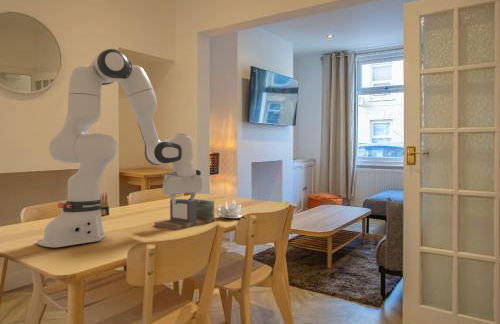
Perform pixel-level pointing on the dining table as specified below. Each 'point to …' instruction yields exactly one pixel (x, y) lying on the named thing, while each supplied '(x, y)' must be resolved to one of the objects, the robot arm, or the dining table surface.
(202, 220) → the bookend
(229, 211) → the lotus flower
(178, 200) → the picture frame
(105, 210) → the ammunition clip
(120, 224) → the dining table surface
